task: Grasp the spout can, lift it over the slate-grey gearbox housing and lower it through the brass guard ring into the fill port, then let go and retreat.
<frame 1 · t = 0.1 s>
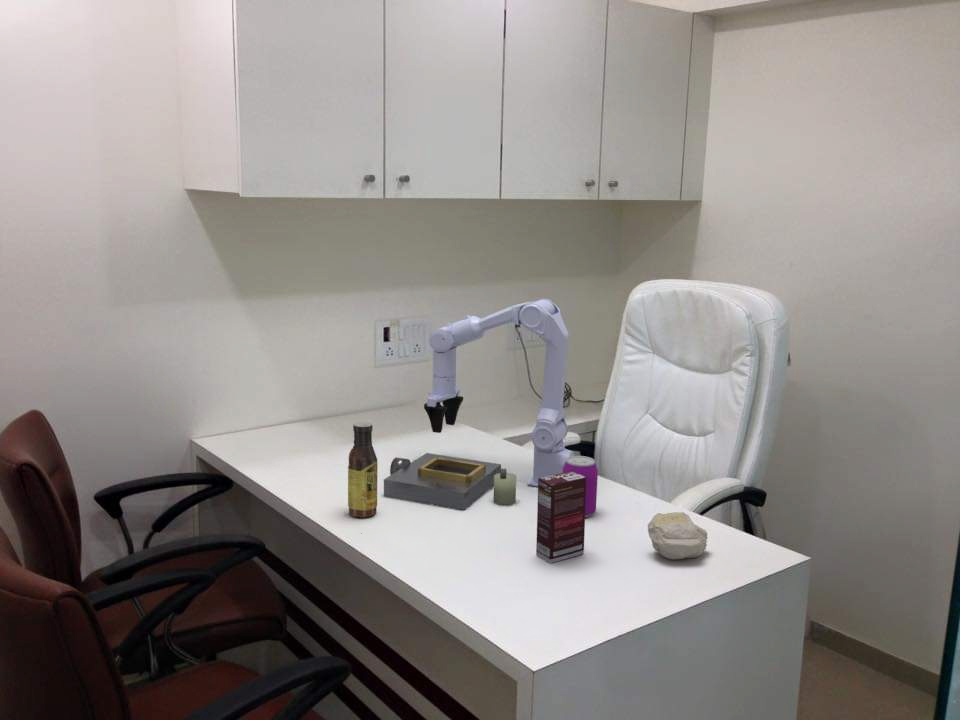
hand: (443, 428, 217), 10 cm above the table, fingers open, 7 cm apart
spout can: (504, 501, 196), on the table
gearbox: (451, 489, 203), on the table
beverage can: (578, 513, 191), on the table
supplement box: (559, 555, 169), on the table
sauce bottle: (362, 514, 187), on the table
beige lumpy stone: (677, 556, 170), on the table
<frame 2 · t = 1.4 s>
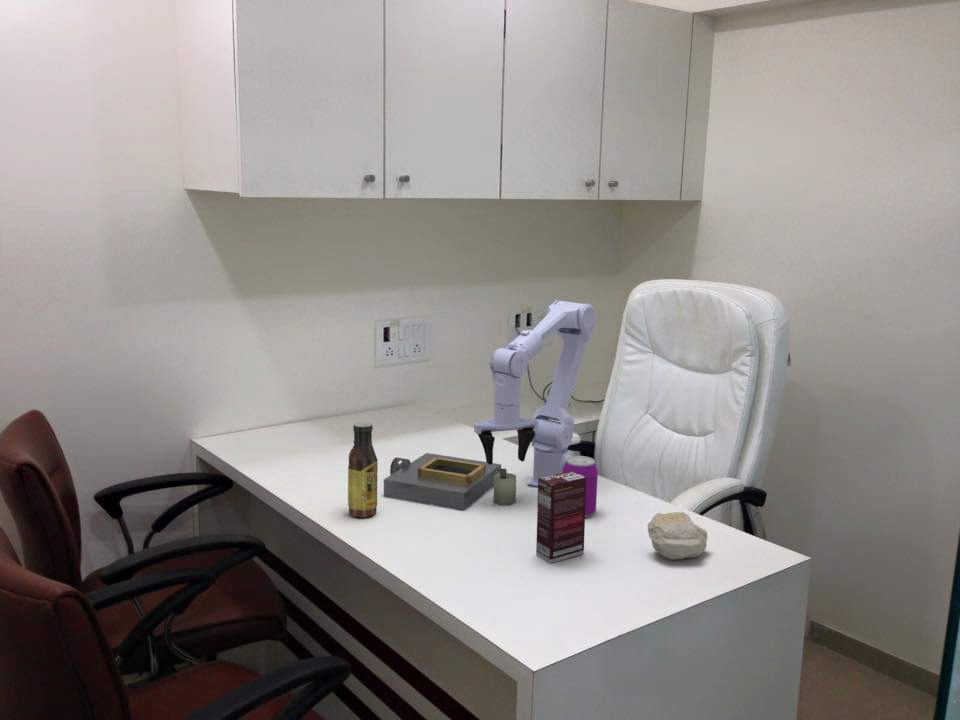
hand: (505, 461, 194), 9 cm above the table, fingers open, 7 cm apart
nothing on the table moved.
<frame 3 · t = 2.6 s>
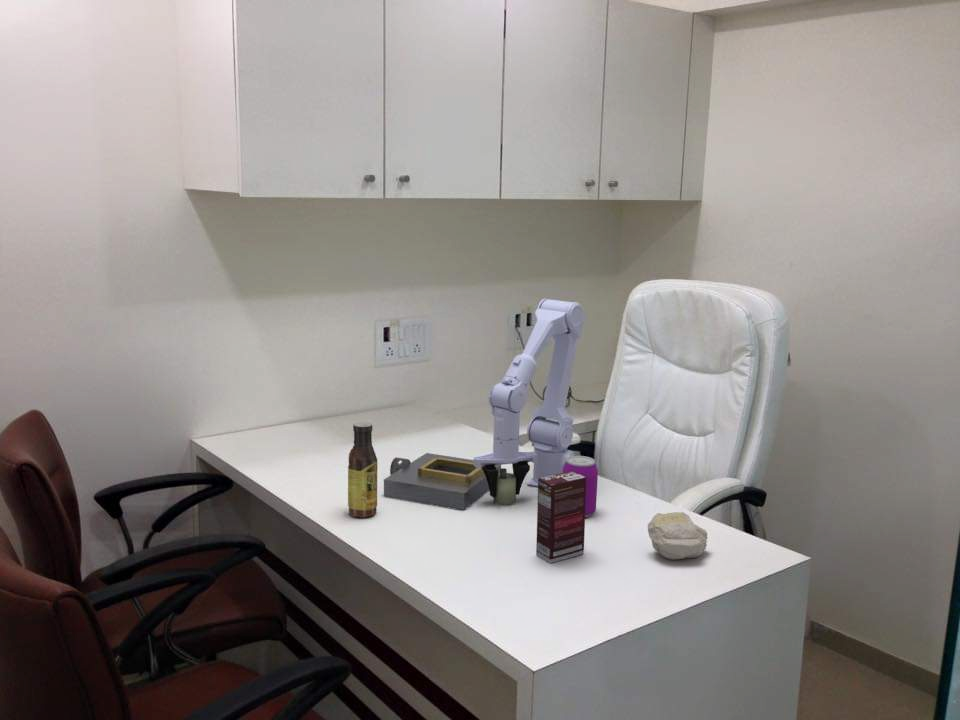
hand: (504, 494, 196), 2 cm above the table, fingers closed on spout can, 5 cm apart
spout can: (504, 501, 196), on the table, touching gripper
everything else where it was.
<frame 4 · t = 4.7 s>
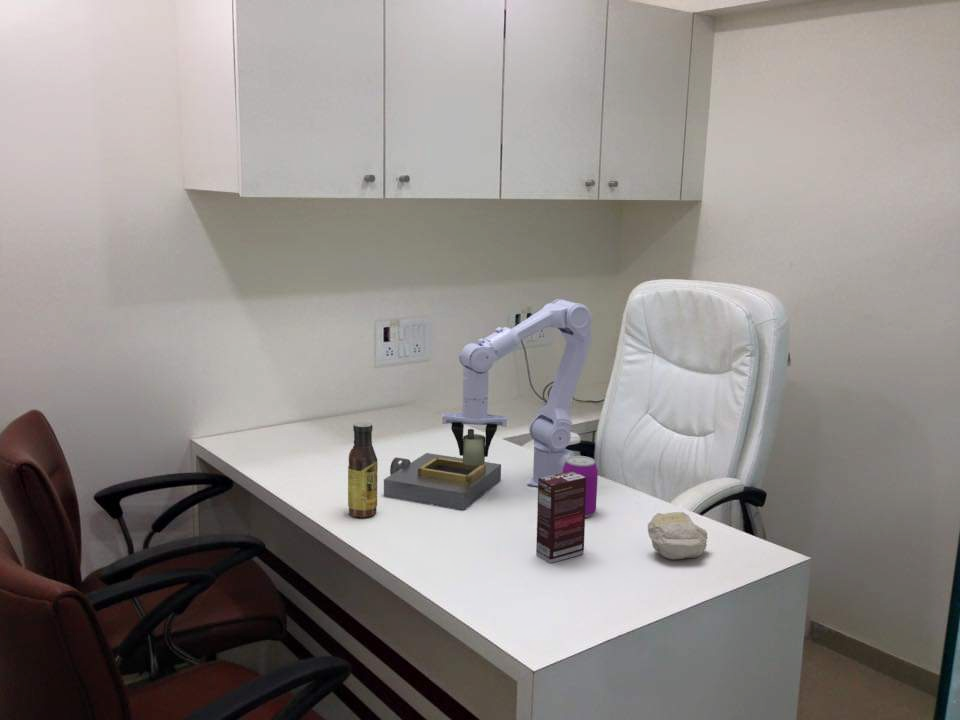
hand: (473, 455, 198), 9 cm above the table, fingers closed on spout can, 5 cm apart
spout can: (473, 462, 198), point 8 cm above the table, touching gripper
everything else where it was.
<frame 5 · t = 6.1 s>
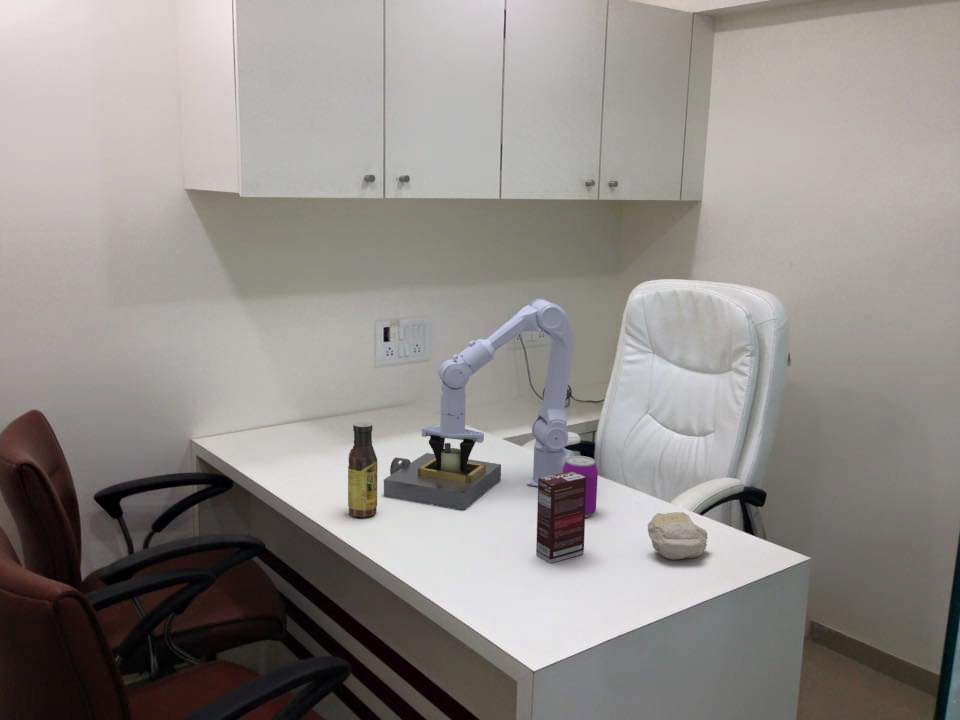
hand: (452, 468, 202), 5 cm above the table, fingers closed on spout can, 5 cm apart
spout can: (451, 476, 202), point 3 cm above the table, touching gripper
everything else where it was.
when the fingers open (3 cm above the table, at t = 7.0 s): spout can drops 2 cm, resting in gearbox.
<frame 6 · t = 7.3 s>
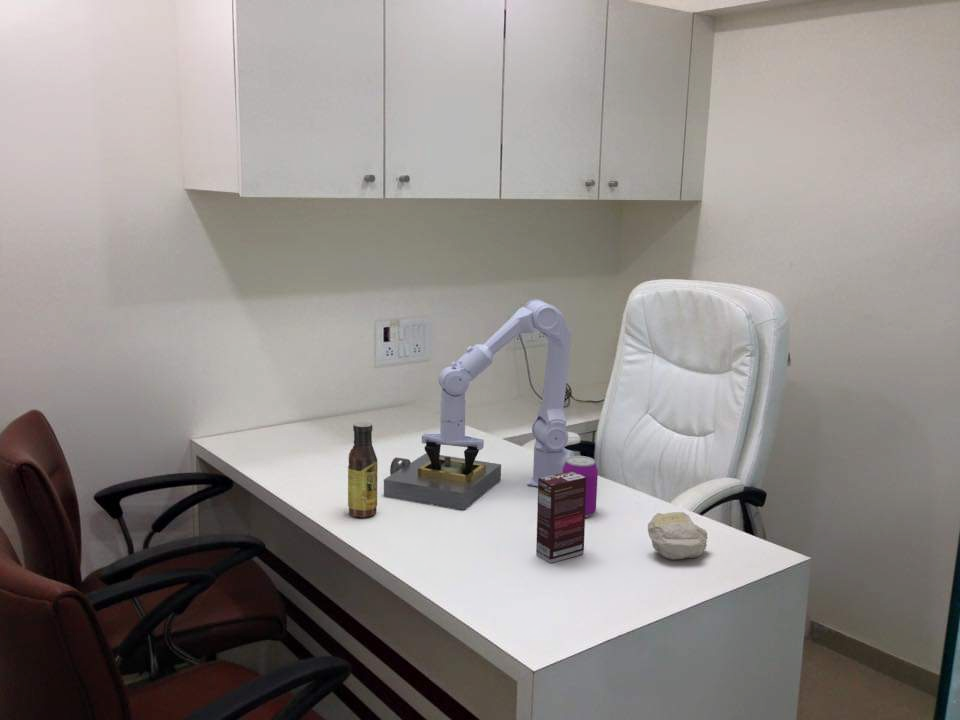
hand: (451, 475, 202), 3 cm above the table, fingers open, 7 cm apart
spout can: (451, 489, 203), resting in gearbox
everything else where it was.
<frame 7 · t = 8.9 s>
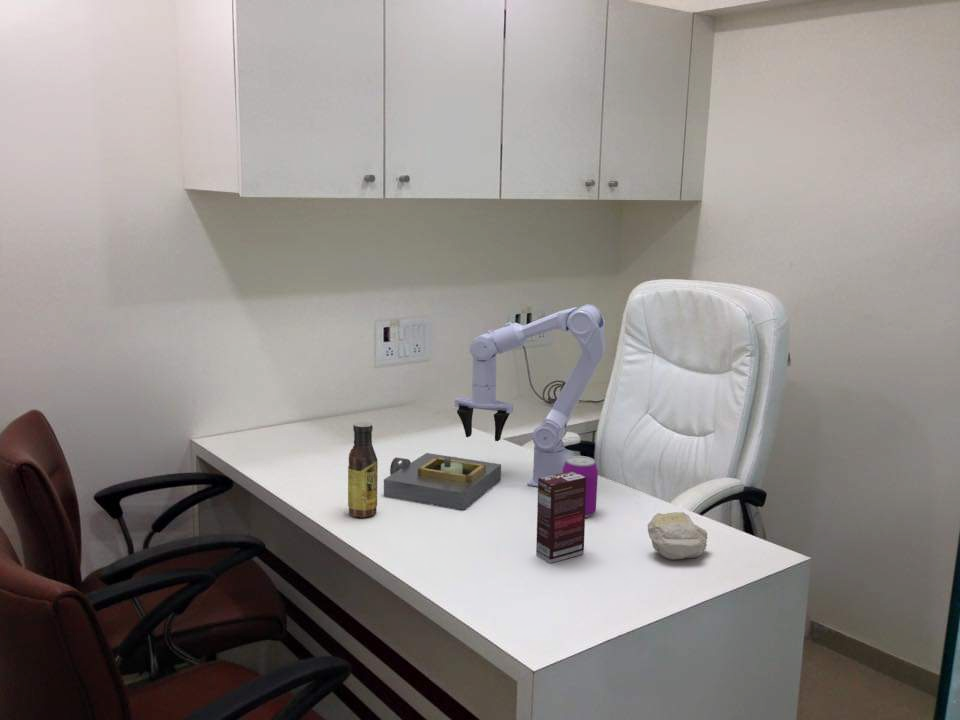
hand: (483, 438, 212), 9 cm above the table, fingers open, 7 cm apart
nothing on the table moved.
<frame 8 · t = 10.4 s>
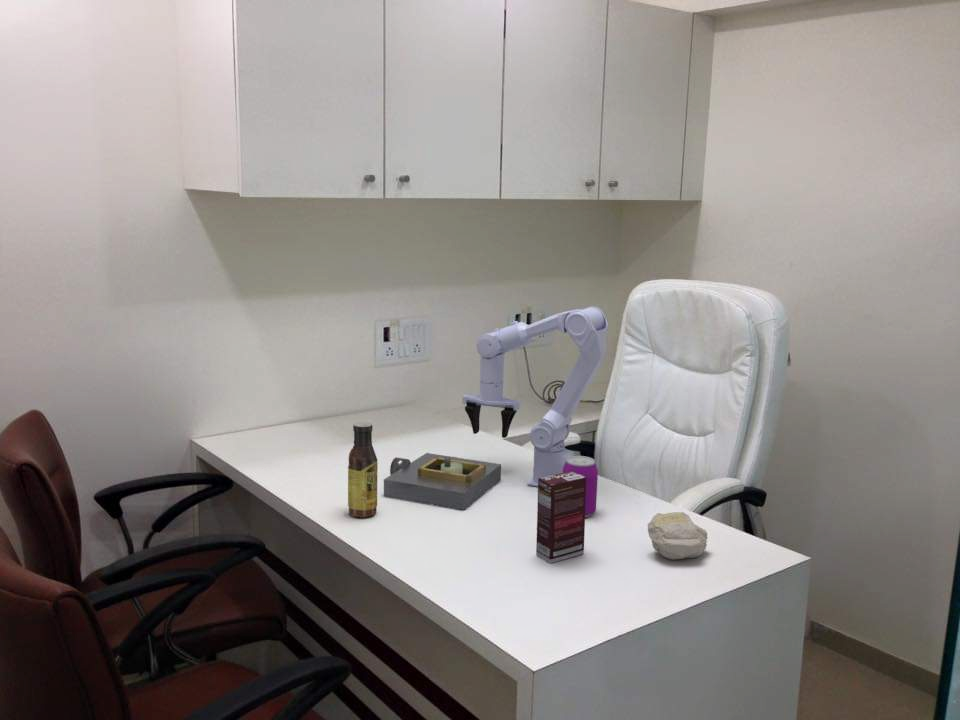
hand: (490, 434, 214), 9 cm above the table, fingers open, 7 cm apart
nothing on the table moved.
at the end: spout can 0.3 cm off-centre on the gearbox, point 0.0 cm above the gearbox's base; spout can tilted 0°; the gripper is holding nothing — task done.
